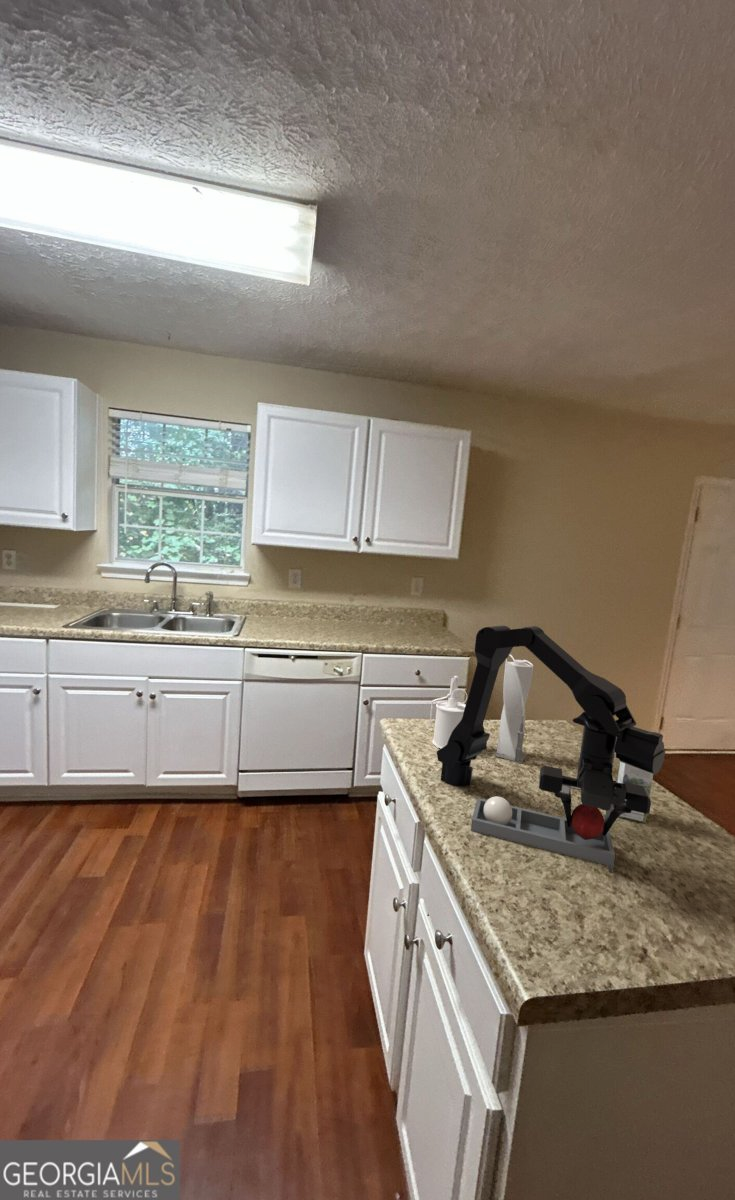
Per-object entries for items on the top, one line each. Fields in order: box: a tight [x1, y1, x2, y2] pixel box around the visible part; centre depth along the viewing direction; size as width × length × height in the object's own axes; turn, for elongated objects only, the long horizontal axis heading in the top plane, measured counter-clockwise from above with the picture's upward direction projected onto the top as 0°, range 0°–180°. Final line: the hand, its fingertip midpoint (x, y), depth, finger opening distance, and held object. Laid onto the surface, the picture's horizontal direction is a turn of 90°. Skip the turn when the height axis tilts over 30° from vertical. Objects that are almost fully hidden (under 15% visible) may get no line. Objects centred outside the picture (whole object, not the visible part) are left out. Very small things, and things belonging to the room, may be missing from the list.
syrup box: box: [616, 760, 654, 823], centre depth 110 cm, size 6×6×14 cm
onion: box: [571, 803, 605, 840], centre depth 95 cm, size 6×6×8 cm
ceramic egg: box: [483, 795, 512, 825], centre depth 101 cm, size 6×6×6 cm
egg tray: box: [470, 797, 616, 874], centre depth 98 cm, size 25×9×4 cm, turn 71°
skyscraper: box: [494, 653, 534, 765], centre depth 137 cm, size 8×8×28 cm
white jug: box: [429, 675, 468, 750], centre depth 141 cm, size 10×9×20 cm
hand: (586, 830), depth 95 cm, fingers closed on onion, 6 cm apart
